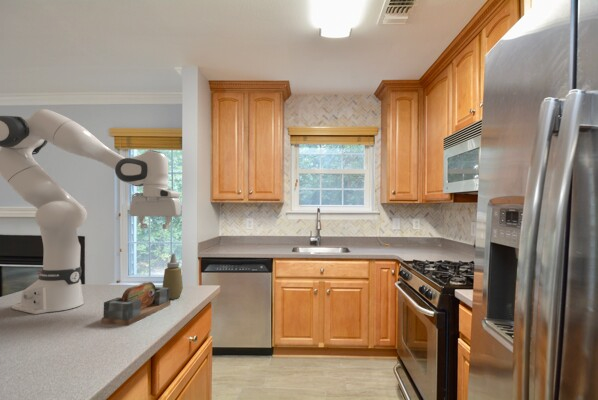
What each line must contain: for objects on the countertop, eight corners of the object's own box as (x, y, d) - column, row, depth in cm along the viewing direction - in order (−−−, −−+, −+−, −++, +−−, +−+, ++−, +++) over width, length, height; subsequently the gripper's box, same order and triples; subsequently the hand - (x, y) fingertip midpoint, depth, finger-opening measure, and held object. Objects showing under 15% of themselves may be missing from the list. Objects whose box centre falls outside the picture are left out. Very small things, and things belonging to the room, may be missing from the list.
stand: (101, 322, 100) (102, 302, 101) (147, 303, 122) (147, 286, 122) (128, 325, 99) (129, 304, 99) (170, 305, 120) (170, 287, 120)
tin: (127, 315, 103) (128, 289, 103) (119, 315, 104) (119, 289, 104) (156, 302, 118) (157, 280, 118) (149, 302, 118) (149, 279, 119)
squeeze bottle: (175, 294, 136) (176, 252, 136) (186, 297, 131) (187, 254, 131) (157, 298, 129) (159, 254, 130) (168, 301, 124) (170, 256, 125)
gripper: (126, 192, 121) (125, 228, 120) (174, 192, 117) (173, 229, 116) (137, 193, 127) (136, 227, 127) (183, 193, 123) (182, 228, 123)
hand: (154, 228), depth 121 cm, fingers open, 8 cm apart
